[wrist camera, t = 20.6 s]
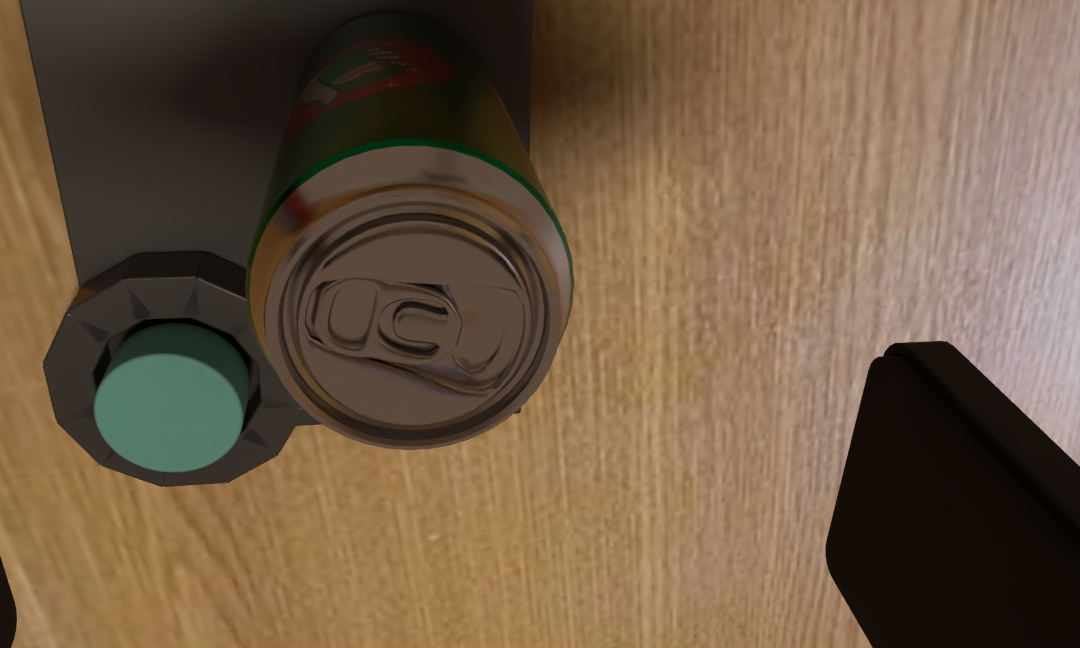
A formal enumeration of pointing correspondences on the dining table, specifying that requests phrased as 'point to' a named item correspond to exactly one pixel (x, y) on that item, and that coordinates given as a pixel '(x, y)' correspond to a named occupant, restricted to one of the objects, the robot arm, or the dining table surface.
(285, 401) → the scale
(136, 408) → the button
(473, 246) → the soda can
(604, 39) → the dining table surface
